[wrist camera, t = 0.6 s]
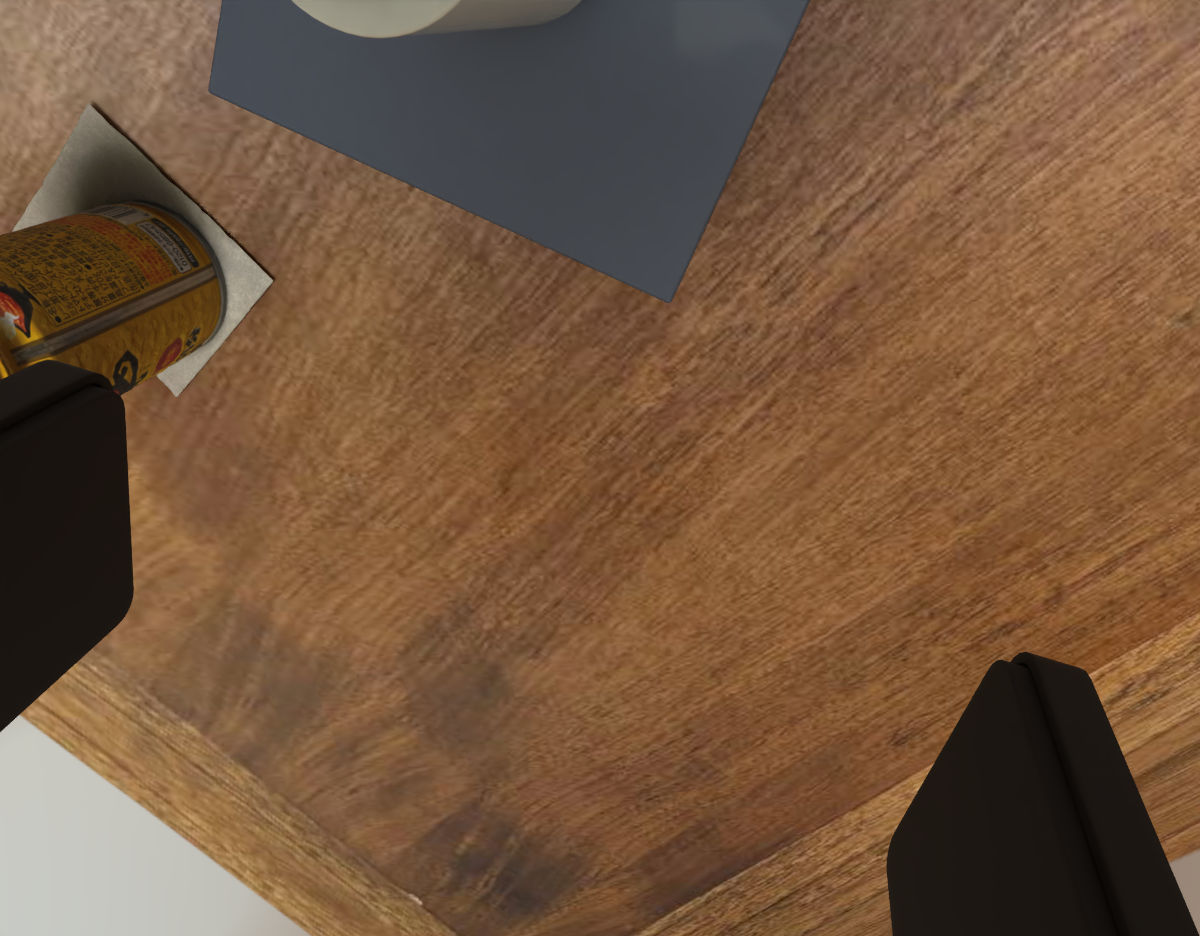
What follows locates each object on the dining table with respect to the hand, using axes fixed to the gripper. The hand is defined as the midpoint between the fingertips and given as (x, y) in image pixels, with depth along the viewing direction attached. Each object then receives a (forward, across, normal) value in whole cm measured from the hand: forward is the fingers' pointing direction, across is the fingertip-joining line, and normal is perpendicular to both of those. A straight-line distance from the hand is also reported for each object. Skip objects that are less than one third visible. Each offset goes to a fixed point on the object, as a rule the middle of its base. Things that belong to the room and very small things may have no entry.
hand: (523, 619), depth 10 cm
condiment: (+23, +20, +8) cm, 32 cm away
